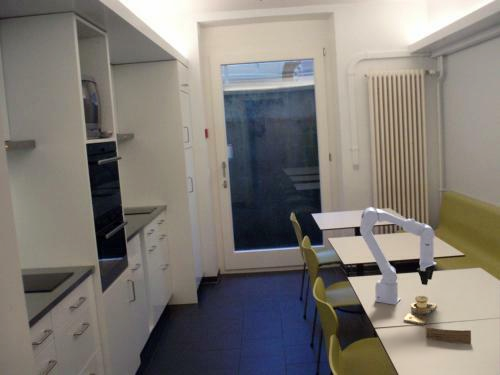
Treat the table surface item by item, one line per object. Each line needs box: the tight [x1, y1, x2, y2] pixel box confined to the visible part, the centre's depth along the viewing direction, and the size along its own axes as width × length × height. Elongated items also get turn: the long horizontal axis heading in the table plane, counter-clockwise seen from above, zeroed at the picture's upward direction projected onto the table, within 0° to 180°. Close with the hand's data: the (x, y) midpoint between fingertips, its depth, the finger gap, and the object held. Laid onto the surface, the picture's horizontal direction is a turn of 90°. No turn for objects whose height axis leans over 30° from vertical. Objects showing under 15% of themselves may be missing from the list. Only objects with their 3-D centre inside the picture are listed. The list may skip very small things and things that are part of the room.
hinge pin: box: [415, 295, 429, 308], centre depth 199 cm, size 5×5×7 cm
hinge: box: [403, 302, 438, 326], centre depth 200 cm, size 8×22×4 cm, turn 146°
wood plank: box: [425, 327, 472, 345], centre depth 175 cm, size 15×2×5 cm, turn 72°
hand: (426, 281), depth 211 cm, fingers open, 7 cm apart
